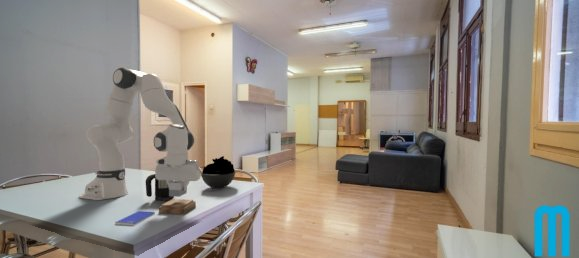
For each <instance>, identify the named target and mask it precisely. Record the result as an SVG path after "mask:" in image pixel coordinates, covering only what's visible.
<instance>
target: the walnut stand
mask: <svg viewBox="0 0 579 258" xmlns="http://www.w3.org/2000/svg"><path fill="white" fill-rule="evenodd" d="M194 208H196V200H195V201H194V199H181V198H173V199H172V200H170V201H168V202H167V201H166V202H164V203H161V205H160V206H158V213H159V214H166V215H167V214H168V215H170V214H171V215H186V214H187V213H189V212H191V211H192V210H193V209H194Z"/></svg>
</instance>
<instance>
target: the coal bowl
mask: <svg viewBox="0 0 579 258" xmlns="http://www.w3.org/2000/svg"><path fill="white" fill-rule="evenodd" d="M200 176H201V178H202V180H203V182H204V183H205V184H206V185H207V186H208V187H209V188H212V189H216V190H217V189H223V188H225V187H227V186H229V185H230V184H231V183H232V181H233V180H234V179H235V176H236V170H235V167H234V164H233V163H232V161H231V160H228V159H227V158H225V156H224V155H222V156H220V157H218V158H217V157H216V158H213V159H212V163H209V164H207V165H205V166H204V167H203V169H202V171H201V172H200Z"/></svg>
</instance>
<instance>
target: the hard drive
mask: <svg viewBox="0 0 579 258" xmlns="http://www.w3.org/2000/svg"><path fill="white" fill-rule="evenodd" d="M155 213H156V212H155V211H146V210H145V211H143V210H138V211H136V212H134V213H132V214H130V215H128V216H125V217H123V218H121V219H119V220H116V221H115V223H114V225H119V226H134V227H135V226H136V225H138V224H140V223H141V222H143V221H145V220H146V219H149V218H151V217H152V216H154V215H155ZM120 224H121V225H120Z"/></svg>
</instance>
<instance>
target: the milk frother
mask: <svg viewBox="0 0 579 258" xmlns="http://www.w3.org/2000/svg"><path fill="white" fill-rule="evenodd" d="M153 180H154V200H156V201H166V202H168V201H170V200H172V199H175V196H169V186H168V184H167V183H166V180H157V179H156V177H155V173H152V174H150V175H148V176H147V177H146V179H145V193H146V194H145V195H146V197H148V198H151V197H152V196H153V189H152V188H153V187H152V181H153ZM173 181H174V180H172V182H173Z"/></svg>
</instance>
